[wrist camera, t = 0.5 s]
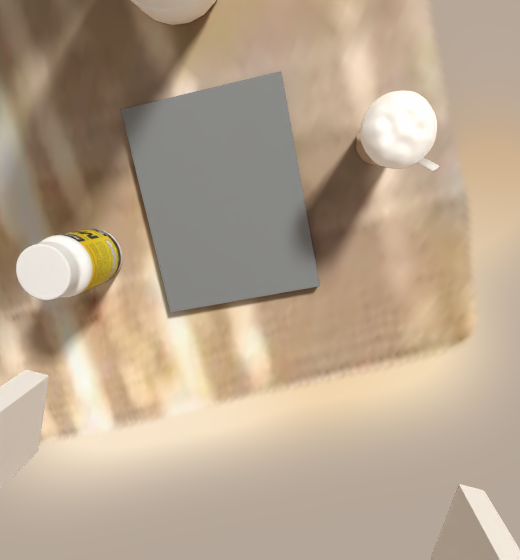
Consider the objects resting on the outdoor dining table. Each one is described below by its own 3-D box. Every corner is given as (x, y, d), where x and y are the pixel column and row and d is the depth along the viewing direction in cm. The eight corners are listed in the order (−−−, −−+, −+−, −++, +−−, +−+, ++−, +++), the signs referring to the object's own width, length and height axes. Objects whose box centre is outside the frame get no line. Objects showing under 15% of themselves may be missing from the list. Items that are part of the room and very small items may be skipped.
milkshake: (375, 193, 36) (403, 194, 26) (335, 138, 35) (349, 119, 25) (423, 156, 35) (471, 144, 25) (383, 100, 34) (416, 65, 25)
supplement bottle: (116, 223, 38) (66, 233, 30) (129, 277, 39) (84, 300, 31) (64, 233, 39) (1, 245, 30) (78, 285, 40) (20, 310, 31)
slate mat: (124, 111, 36) (120, 109, 35) (281, 74, 35) (281, 71, 34) (173, 310, 39) (170, 312, 38) (319, 284, 38) (319, 286, 37)
